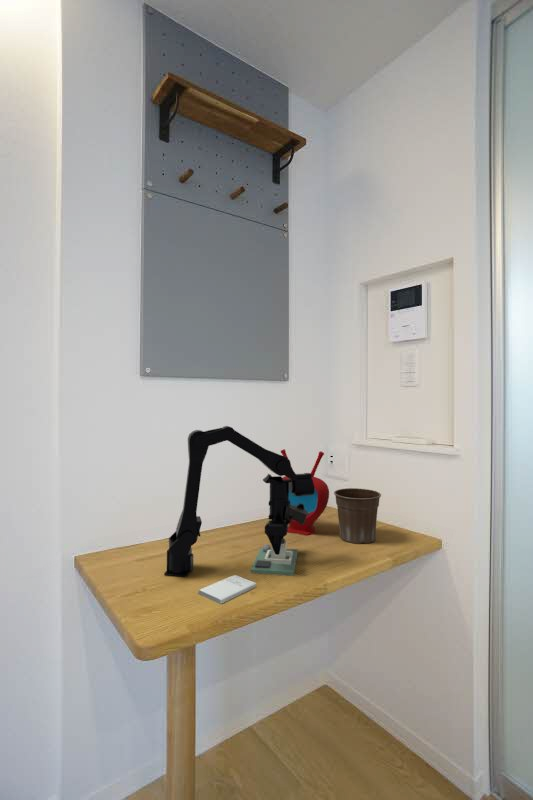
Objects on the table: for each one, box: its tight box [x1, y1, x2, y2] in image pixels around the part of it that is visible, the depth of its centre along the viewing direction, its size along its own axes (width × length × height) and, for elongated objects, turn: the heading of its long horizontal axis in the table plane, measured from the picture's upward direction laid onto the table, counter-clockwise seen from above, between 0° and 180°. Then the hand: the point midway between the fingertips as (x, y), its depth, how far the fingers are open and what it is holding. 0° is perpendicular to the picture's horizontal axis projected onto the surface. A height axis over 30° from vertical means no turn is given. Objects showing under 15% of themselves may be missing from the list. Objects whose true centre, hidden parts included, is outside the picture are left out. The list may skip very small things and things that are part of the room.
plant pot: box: [333, 487, 382, 545], centre depth 145 cm, size 16×16×16 cm
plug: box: [270, 538, 287, 559], centre depth 123 cm, size 4×4×6 cm
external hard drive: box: [197, 574, 257, 605], centre depth 104 cm, size 2×8×12 cm
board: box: [250, 544, 299, 577], centre depth 123 cm, size 12×18×3 cm, turn 172°
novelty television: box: [280, 449, 330, 536], centre depth 155 cm, size 21×13×30 cm, turn 62°
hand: (278, 549), depth 123 cm, fingers open, 8 cm apart
